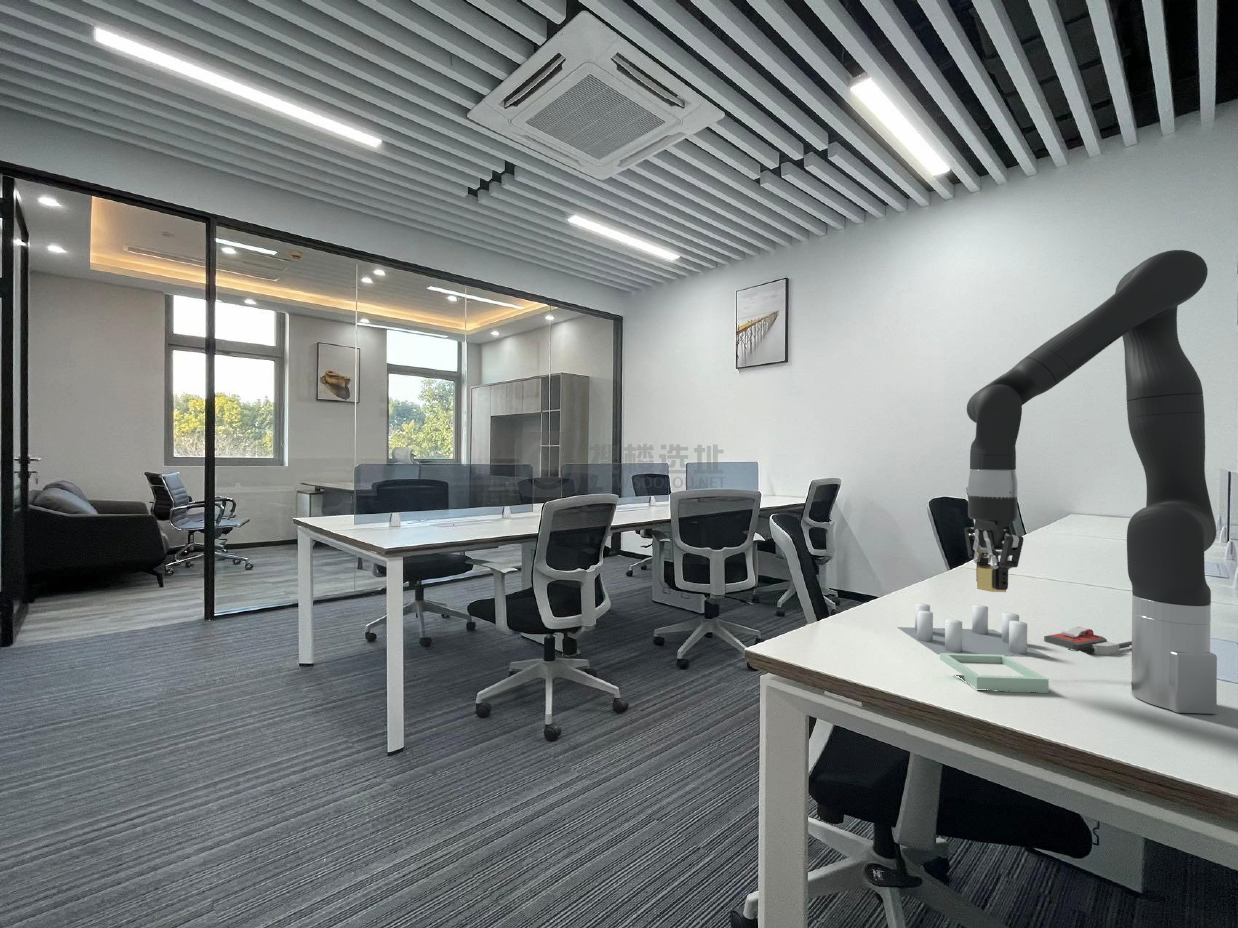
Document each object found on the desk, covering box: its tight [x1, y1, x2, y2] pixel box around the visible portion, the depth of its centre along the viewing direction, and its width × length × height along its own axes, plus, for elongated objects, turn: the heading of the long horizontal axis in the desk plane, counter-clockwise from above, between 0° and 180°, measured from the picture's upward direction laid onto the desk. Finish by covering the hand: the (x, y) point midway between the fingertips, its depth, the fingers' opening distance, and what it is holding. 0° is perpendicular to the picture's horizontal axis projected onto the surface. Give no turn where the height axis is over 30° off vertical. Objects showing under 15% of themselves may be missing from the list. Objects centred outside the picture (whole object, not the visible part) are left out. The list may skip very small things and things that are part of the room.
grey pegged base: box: [896, 602, 1050, 658], centre depth 117 cm, size 18×22×7 cm
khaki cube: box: [976, 564, 1007, 593], centre depth 100 cm, size 4×5×4 cm
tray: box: [939, 653, 1050, 694], centre depth 100 cm, size 12×12×2 cm
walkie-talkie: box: [1043, 626, 1132, 656], centre depth 117 cm, size 9×4×20 cm
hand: (991, 585), depth 100 cm, fingers closed on khaki cube, 4 cm apart
